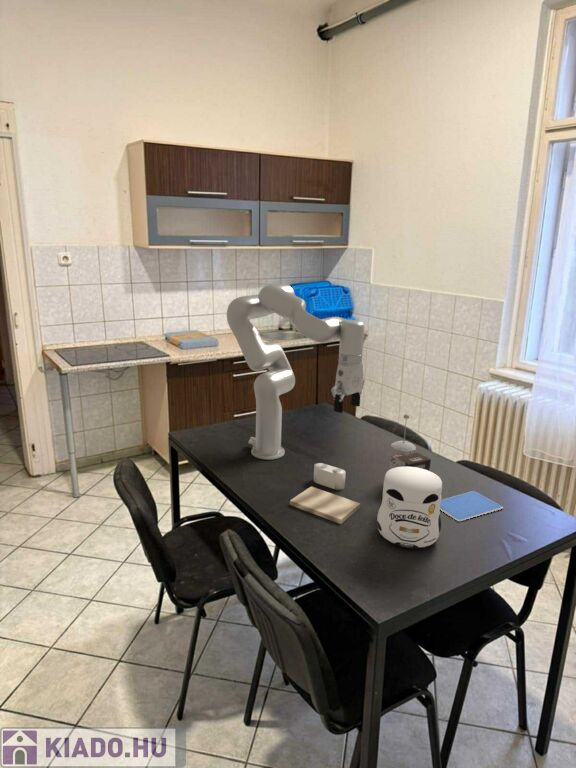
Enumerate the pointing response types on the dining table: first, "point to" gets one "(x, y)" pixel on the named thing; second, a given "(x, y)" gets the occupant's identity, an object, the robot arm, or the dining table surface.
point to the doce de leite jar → (410, 507)
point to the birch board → (325, 504)
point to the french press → (401, 447)
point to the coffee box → (413, 461)
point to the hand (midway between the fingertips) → (346, 408)
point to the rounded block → (329, 476)
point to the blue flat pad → (468, 506)
